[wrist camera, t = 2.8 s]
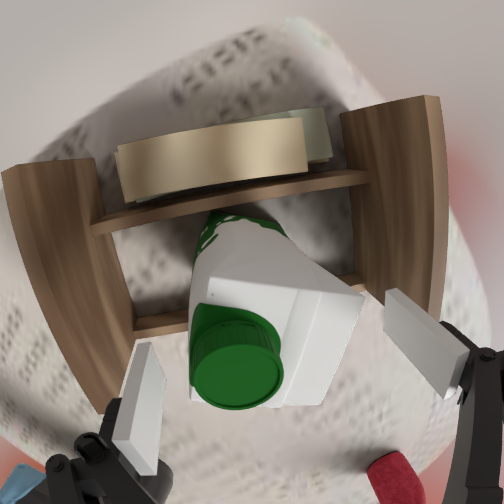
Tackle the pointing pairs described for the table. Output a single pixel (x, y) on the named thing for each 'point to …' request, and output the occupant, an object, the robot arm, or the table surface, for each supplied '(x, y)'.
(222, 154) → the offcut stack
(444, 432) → the table surface
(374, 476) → the wine bottle
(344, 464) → the table surface
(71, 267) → the walnut rack
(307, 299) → the soya milk
